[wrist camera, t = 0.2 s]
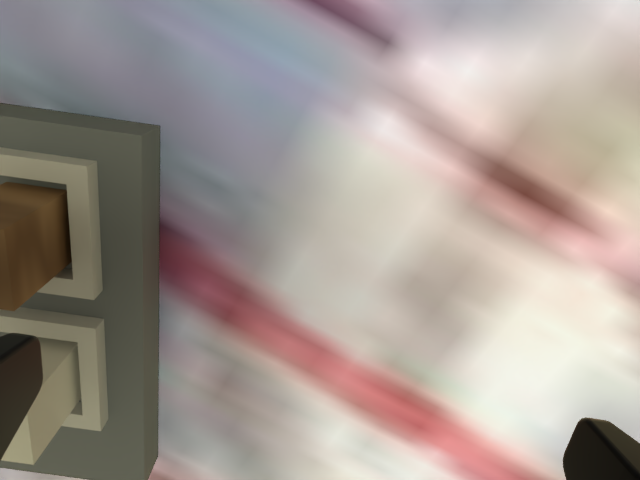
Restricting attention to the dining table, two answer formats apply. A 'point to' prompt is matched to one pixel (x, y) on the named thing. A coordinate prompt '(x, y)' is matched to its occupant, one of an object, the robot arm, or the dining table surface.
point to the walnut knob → (31, 240)
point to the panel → (96, 283)
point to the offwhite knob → (48, 401)
